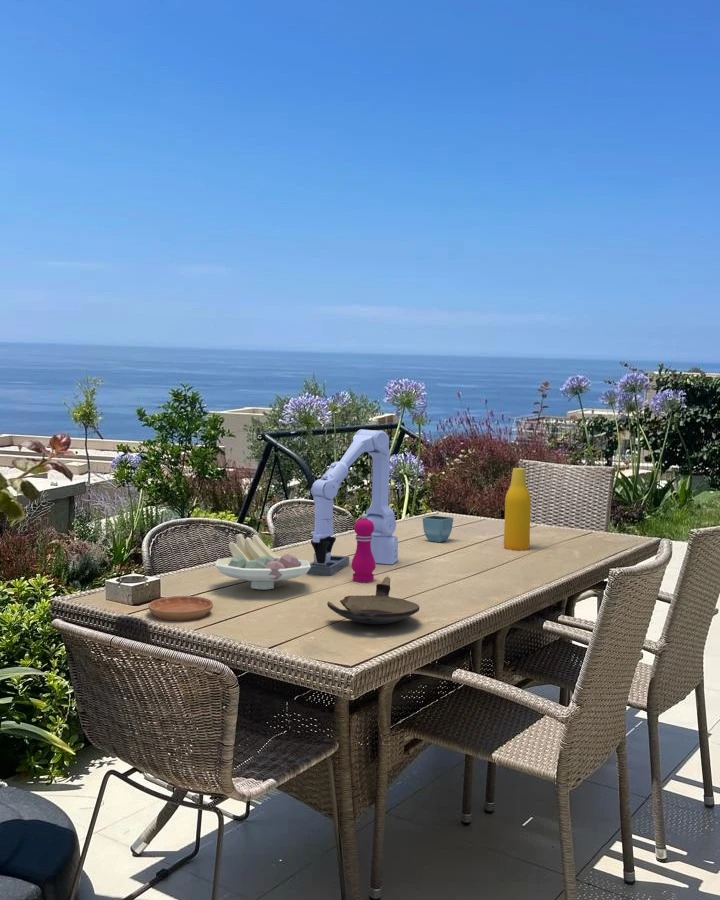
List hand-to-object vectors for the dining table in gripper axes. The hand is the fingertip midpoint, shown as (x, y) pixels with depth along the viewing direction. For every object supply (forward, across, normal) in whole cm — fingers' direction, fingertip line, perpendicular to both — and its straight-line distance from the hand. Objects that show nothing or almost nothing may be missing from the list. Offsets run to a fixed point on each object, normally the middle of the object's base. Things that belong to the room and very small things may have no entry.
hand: (323, 561), depth 281 cm
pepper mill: (+3, +7, +15) cm, 17 cm away
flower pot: (+3, -68, +22) cm, 72 cm away
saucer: (+4, +61, -17) cm, 63 cm away
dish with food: (+3, +27, -9) cm, 28 cm away
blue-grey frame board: (+3, -5, 0) cm, 6 cm away
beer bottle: (+3, -64, +52) cm, 83 cm away
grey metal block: (+2, 0, 0) cm, 2 cm away
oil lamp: (+3, +49, +32) cm, 58 cm away
